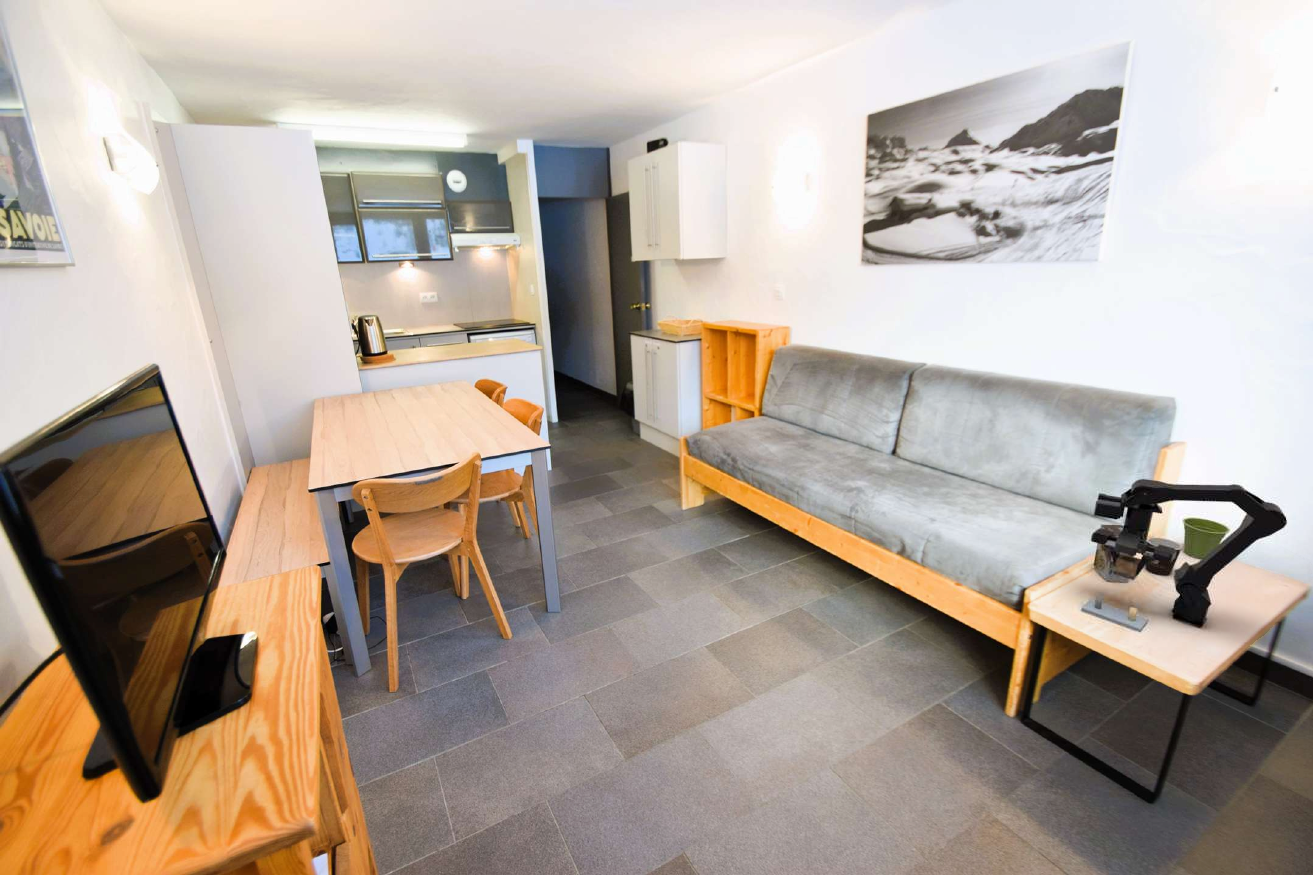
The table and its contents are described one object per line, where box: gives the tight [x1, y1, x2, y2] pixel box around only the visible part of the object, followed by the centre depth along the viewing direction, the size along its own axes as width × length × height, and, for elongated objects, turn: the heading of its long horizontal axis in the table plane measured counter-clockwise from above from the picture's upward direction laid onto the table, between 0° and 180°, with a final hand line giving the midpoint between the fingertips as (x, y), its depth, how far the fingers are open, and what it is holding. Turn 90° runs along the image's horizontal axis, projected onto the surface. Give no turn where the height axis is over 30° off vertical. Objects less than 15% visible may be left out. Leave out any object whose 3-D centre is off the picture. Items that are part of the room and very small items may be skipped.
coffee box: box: [1092, 524, 1134, 584], centre depth 188 cm, size 9×6×16 cm
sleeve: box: [1114, 554, 1141, 581], centre depth 172 cm, size 5×5×5 cm
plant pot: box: [1182, 517, 1231, 560], centre depth 198 cm, size 12×12×11 cm
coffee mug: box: [1139, 537, 1183, 577], centre depth 191 cm, size 12×9×10 cm
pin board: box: [1080, 595, 1149, 633], centre depth 168 cm, size 14×7×4 cm, turn 38°
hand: (1126, 571), depth 172 cm, fingers closed on sleeve, 5 cm apart
